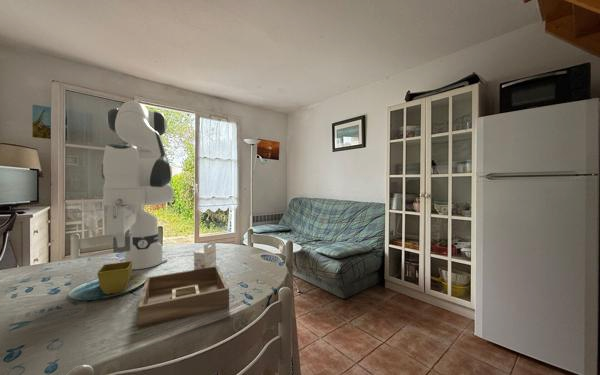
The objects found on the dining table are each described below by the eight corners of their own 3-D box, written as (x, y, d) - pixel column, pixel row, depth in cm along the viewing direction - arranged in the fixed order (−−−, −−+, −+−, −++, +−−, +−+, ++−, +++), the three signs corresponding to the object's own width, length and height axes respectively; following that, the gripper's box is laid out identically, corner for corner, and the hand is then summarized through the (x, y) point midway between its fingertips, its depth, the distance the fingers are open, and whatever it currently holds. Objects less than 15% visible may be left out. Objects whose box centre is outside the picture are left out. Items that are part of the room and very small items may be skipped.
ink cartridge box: (206, 272, 102) (206, 239, 102) (216, 273, 102) (216, 239, 101) (193, 281, 94) (193, 244, 94) (204, 282, 93) (204, 245, 93)
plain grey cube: (116, 249, 71) (116, 234, 71) (132, 247, 73) (132, 233, 73) (113, 252, 68) (113, 237, 68) (130, 250, 70) (130, 236, 70)
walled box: (146, 294, 83) (146, 277, 83) (217, 280, 94) (217, 266, 94) (138, 329, 64) (137, 307, 64) (229, 307, 75) (229, 288, 75)
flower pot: (97, 298, 80) (96, 272, 79) (104, 288, 87) (103, 264, 87) (128, 293, 84) (128, 268, 83) (133, 283, 91) (132, 260, 91)
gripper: (129, 200, 62) (129, 252, 63) (140, 195, 80) (141, 235, 81) (98, 201, 59) (99, 255, 60) (117, 196, 78) (118, 237, 78)
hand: (123, 244), depth 71 cm, fingers closed on plain grey cube, 4 cm apart
